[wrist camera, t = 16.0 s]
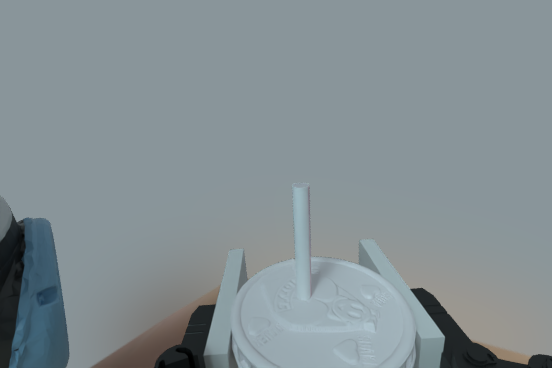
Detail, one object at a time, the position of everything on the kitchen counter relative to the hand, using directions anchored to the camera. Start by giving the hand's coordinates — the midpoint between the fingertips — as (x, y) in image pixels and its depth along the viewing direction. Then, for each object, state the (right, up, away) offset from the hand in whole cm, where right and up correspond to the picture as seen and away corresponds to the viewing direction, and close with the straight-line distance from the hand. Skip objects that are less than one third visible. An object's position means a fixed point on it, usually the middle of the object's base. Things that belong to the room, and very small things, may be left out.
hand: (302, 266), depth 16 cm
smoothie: (+1, -9, -3) cm, 10 cm away
